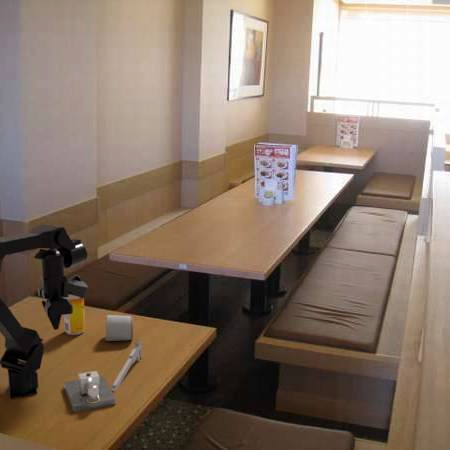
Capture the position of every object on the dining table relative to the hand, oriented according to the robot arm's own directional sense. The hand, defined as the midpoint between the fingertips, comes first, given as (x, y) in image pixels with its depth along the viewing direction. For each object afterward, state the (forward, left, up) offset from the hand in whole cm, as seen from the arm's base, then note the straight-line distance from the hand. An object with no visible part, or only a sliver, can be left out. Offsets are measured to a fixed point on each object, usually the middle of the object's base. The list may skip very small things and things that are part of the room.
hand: (56, 329), depth 169 cm
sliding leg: (+5, -17, -10) cm, 20 cm away
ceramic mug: (+20, +16, -12) cm, 29 cm away
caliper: (+17, -8, -12) cm, 22 cm away
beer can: (+9, +25, -12) cm, 29 cm away
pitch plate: (+5, -17, -12) cm, 21 cm away
